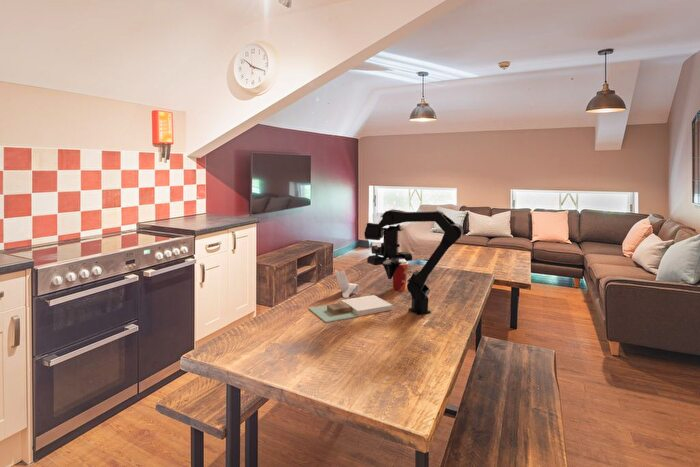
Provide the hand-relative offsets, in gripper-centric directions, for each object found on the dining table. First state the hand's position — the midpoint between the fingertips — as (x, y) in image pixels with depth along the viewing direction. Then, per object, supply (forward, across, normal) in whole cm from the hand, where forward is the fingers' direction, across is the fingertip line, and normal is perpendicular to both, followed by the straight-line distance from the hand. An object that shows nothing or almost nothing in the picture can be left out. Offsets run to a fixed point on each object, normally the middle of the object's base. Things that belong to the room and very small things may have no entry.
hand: (389, 278), depth 167 cm
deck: (+12, +9, -3) cm, 15 cm away
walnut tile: (+11, +21, -4) cm, 24 cm away
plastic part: (+12, +7, -22) cm, 26 cm away
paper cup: (+12, -18, -18) cm, 28 cm away
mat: (+11, +24, -4) cm, 27 cm away
